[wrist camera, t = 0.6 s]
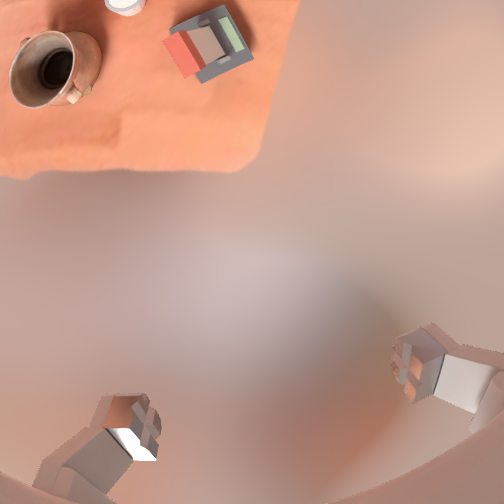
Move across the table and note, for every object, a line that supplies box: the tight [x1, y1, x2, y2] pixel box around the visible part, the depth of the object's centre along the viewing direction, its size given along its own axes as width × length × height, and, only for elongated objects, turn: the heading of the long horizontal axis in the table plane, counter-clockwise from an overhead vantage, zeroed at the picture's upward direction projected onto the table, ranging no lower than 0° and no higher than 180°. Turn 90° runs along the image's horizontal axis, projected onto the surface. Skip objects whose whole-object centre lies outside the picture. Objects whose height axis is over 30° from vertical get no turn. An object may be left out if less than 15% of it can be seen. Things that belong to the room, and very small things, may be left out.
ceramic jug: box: [9, 31, 102, 108], centre depth 28 cm, size 18×14×14 cm
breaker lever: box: [162, 26, 225, 78], centre depth 32 cm, size 3×6×13 cm, turn 25°
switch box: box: [169, 4, 254, 84], centre depth 37 cm, size 10×12×8 cm
